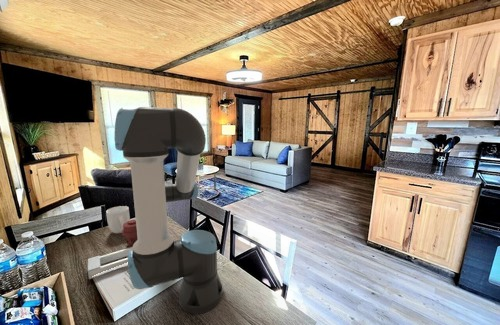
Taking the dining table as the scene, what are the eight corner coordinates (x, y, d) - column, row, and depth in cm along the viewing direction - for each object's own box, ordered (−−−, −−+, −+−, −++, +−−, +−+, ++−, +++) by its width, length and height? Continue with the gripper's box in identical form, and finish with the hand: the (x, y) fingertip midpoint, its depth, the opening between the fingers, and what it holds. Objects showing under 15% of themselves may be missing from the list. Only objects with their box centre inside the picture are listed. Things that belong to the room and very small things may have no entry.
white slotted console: (147, 259, 94) (146, 251, 94) (89, 279, 82) (87, 270, 81) (142, 249, 102) (142, 242, 101) (89, 266, 89) (87, 258, 89)
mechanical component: (131, 238, 113) (149, 239, 112) (118, 248, 103) (137, 249, 102) (129, 216, 111) (147, 217, 110) (115, 225, 101) (135, 226, 100)
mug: (135, 233, 118) (133, 211, 116) (112, 240, 110) (109, 217, 108) (127, 224, 128) (125, 204, 126) (106, 230, 121) (104, 209, 119)
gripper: (170, 215, 91) (173, 259, 94) (156, 199, 110) (159, 236, 114) (152, 220, 86) (156, 266, 90) (140, 202, 106) (144, 240, 109)
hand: (157, 249), depth 102 cm, fingers open, 13 cm apart
